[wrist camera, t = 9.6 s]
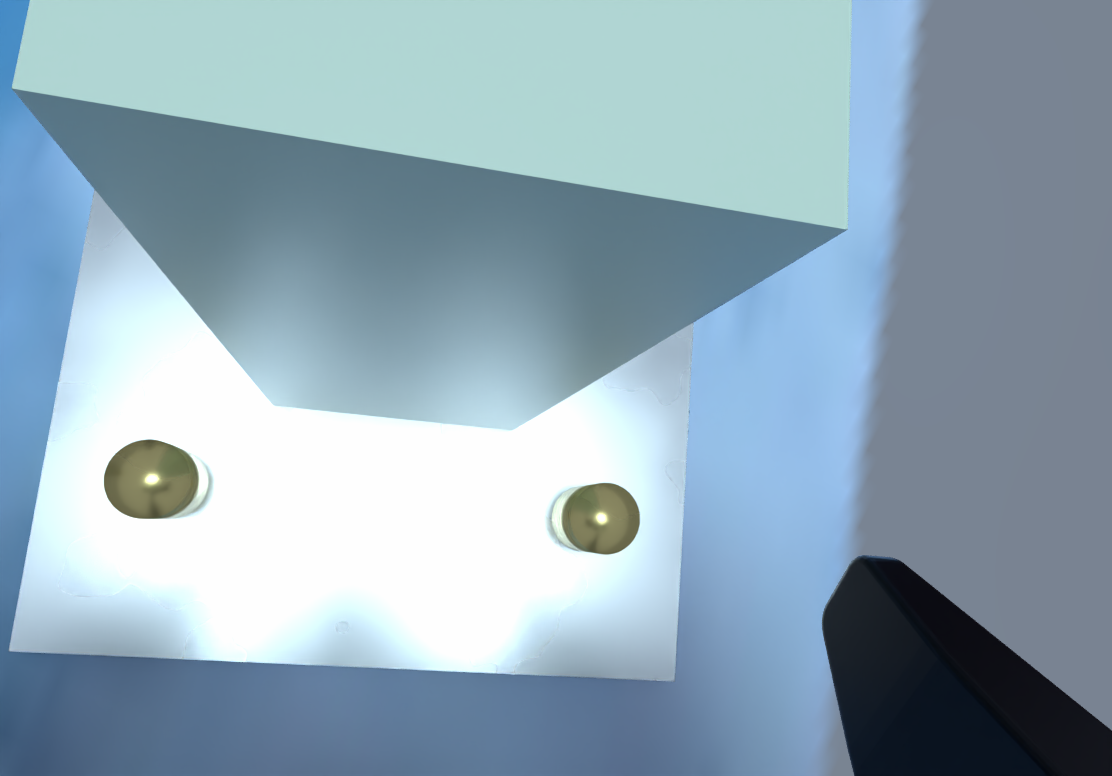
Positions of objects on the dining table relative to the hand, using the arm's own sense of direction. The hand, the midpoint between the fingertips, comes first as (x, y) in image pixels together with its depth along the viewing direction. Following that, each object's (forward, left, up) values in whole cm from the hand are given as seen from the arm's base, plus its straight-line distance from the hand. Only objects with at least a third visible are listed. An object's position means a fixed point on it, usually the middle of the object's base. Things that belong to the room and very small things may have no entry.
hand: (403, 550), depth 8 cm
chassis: (+4, +4, -10) cm, 12 cm away
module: (+4, +4, -10) cm, 11 cm away
